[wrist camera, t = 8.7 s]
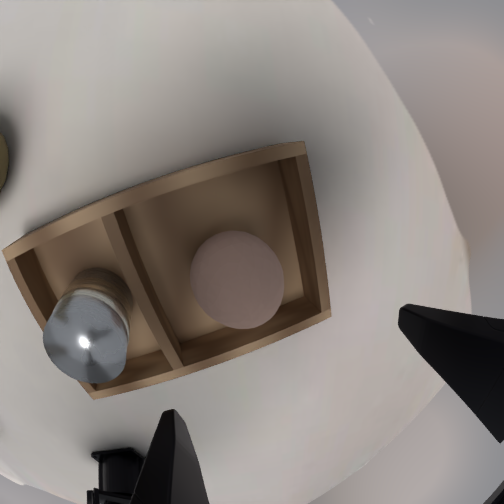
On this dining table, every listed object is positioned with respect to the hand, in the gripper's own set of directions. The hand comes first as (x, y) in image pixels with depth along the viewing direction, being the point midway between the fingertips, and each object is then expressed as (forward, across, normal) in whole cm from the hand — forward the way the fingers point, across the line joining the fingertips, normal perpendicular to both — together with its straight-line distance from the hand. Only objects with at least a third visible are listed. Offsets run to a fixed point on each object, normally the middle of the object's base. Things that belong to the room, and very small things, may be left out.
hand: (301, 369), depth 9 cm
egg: (+12, 0, 0) cm, 12 cm away
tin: (+12, +10, 0) cm, 15 cm away
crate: (+12, +4, 0) cm, 13 cm away
